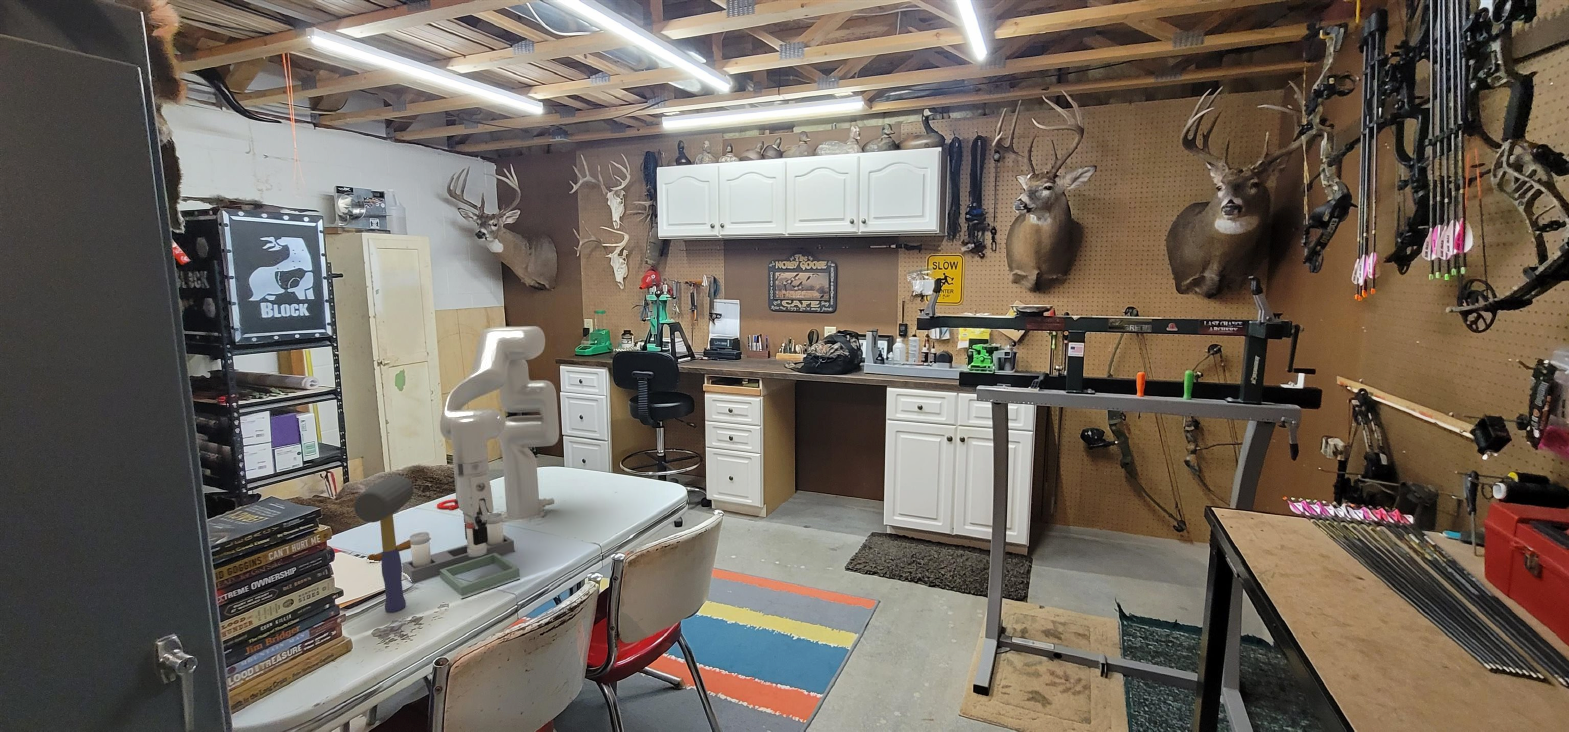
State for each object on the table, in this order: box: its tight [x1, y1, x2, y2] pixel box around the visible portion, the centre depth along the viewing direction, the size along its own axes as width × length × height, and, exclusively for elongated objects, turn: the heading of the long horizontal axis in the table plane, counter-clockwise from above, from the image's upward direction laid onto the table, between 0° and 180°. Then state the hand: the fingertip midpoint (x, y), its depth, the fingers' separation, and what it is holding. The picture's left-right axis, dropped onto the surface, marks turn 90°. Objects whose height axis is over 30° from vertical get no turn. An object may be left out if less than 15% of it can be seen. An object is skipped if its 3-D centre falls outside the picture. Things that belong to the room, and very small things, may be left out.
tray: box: [439, 553, 521, 601], centre depth 159 cm, size 14×14×3 cm
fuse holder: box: [401, 533, 515, 584], centre depth 168 cm, size 25×7×4 cm, turn 136°
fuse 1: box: [409, 531, 432, 569], centre depth 161 cm, size 4×4×10 cm
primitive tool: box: [366, 537, 432, 561], centre depth 177 cm, size 19×6×4 cm, turn 173°
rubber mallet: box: [353, 475, 415, 613], centre depth 143 cm, size 12×8×30 cm, turn 5°
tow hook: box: [436, 476, 459, 511], centre depth 214 cm, size 8×13×9 cm
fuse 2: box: [487, 512, 504, 546], centre depth 173 cm, size 4×4×10 cm
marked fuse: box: [465, 512, 487, 557], centre depth 158 cm, size 4×4×10 cm
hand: (476, 540), depth 158 cm, fingers closed on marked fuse, 4 cm apart
